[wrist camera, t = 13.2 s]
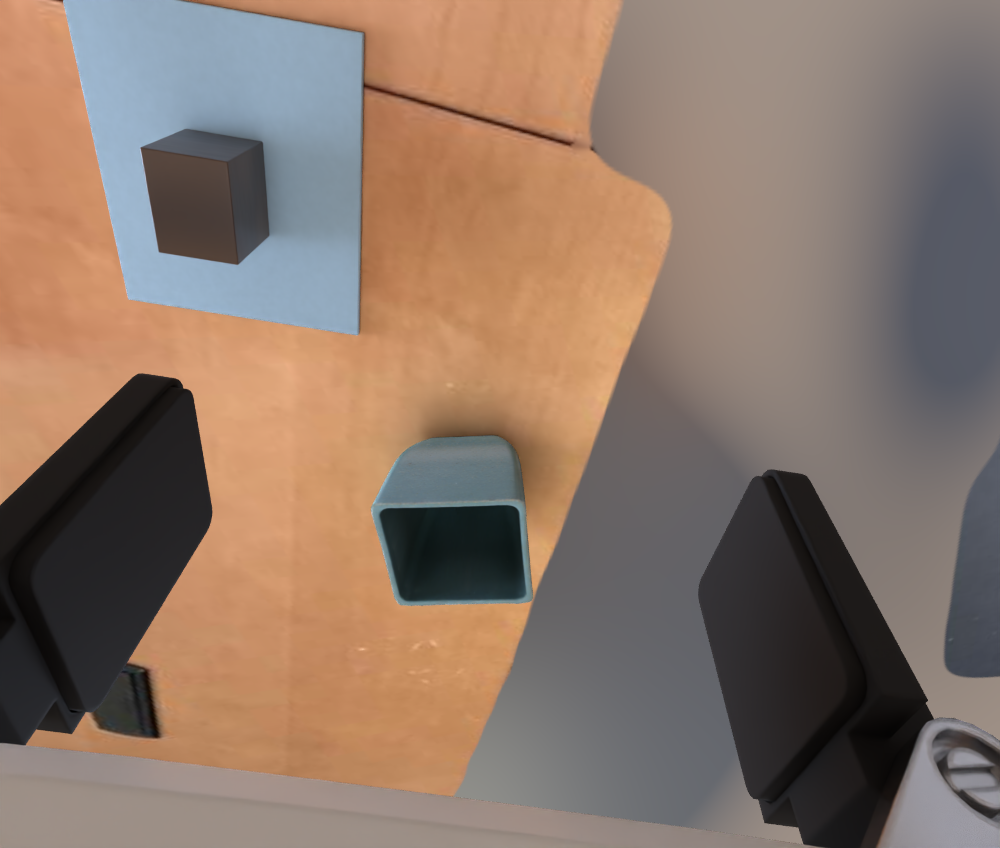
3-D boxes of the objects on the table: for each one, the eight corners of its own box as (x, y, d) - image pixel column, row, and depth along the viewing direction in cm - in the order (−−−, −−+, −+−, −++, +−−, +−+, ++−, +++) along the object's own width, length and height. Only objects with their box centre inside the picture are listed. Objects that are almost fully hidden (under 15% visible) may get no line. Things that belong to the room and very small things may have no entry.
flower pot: (528, 408, 41) (525, 500, 34) (534, 506, 46) (533, 605, 39) (398, 413, 42) (368, 504, 35) (418, 509, 47) (396, 606, 40)
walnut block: (185, 128, 32) (139, 147, 28) (263, 141, 32) (227, 161, 28) (198, 224, 35) (157, 253, 31) (270, 236, 35) (238, 265, 31)
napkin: (63, -22, 29) (57, -22, 28) (364, 32, 29) (362, 33, 29) (131, 297, 38) (128, 299, 38) (359, 332, 39) (357, 335, 38)
